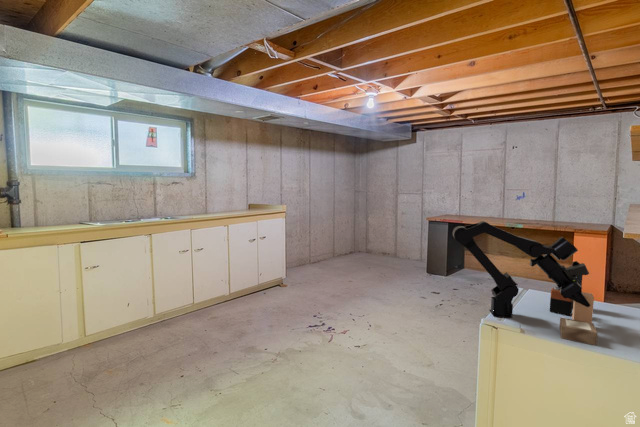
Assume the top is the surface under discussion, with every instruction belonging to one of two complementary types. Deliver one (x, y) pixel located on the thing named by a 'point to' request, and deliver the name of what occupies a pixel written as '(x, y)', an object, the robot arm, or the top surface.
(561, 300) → the battery
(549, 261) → the robot arm
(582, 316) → the pillar block
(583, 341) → the foundation block
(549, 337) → the top surface
